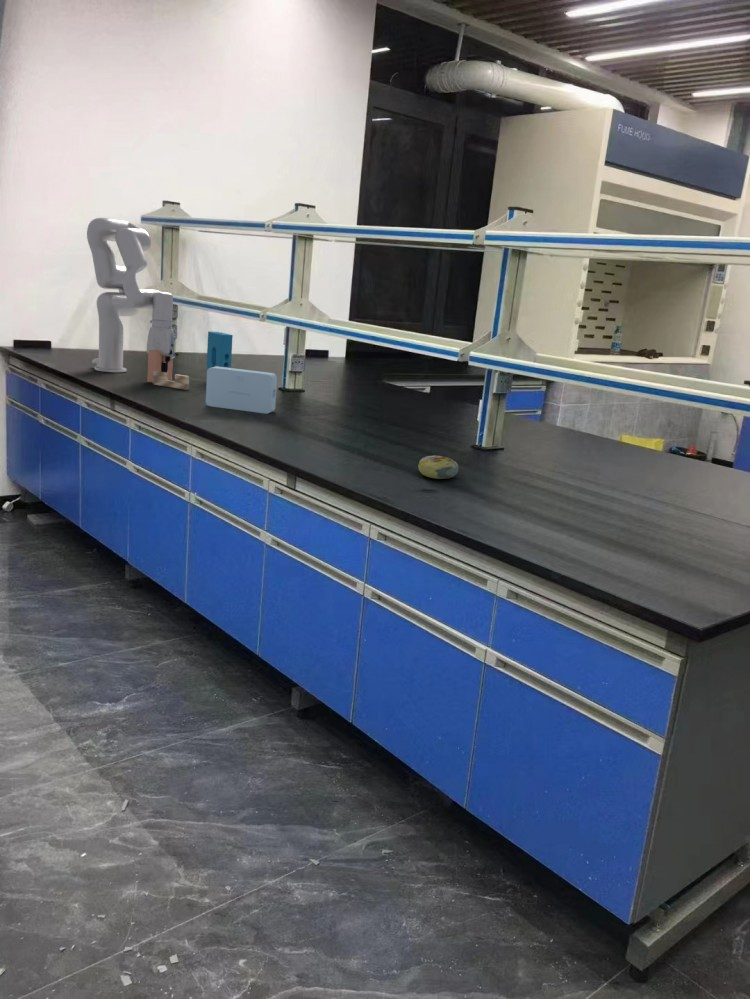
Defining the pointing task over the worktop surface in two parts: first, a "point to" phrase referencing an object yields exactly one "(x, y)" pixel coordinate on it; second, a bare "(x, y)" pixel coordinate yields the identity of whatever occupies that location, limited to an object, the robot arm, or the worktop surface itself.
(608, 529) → the worktop surface
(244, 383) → the pale blue box
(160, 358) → the terracotta plate
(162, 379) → the slot plate base
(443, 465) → the cell model
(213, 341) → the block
